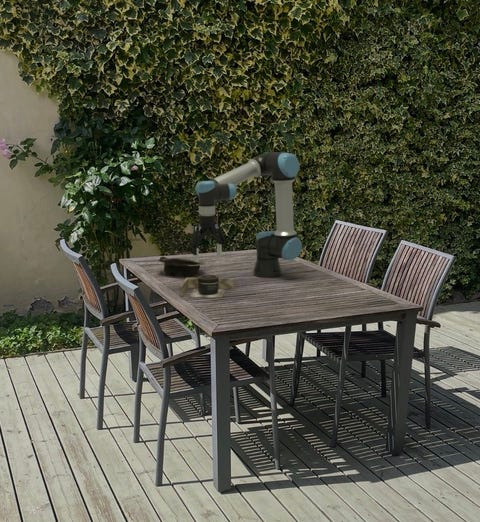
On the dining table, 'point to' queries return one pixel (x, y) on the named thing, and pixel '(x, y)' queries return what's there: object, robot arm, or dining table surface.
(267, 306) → the dining table surface
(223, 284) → the arena
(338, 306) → the dining table surface
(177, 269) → the stone bowl
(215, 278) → the jar
